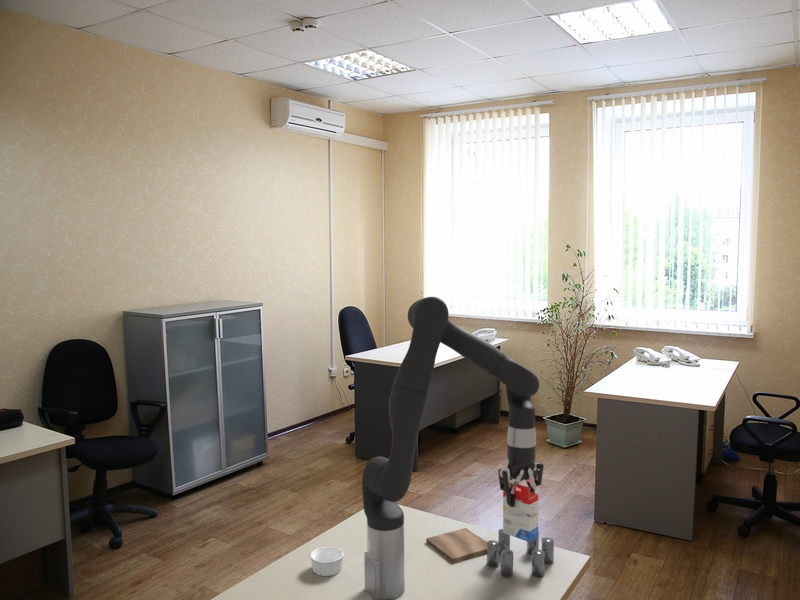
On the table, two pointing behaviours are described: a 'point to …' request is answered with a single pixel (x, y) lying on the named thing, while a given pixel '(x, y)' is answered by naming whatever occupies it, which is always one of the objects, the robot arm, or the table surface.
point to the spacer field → (507, 555)
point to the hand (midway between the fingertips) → (520, 503)
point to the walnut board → (458, 545)
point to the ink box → (521, 514)
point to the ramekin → (327, 561)
